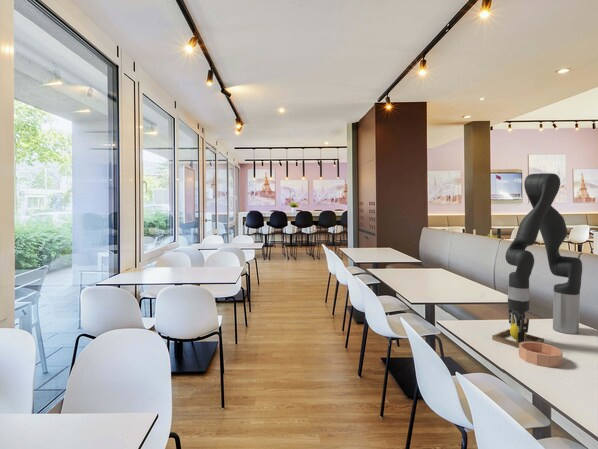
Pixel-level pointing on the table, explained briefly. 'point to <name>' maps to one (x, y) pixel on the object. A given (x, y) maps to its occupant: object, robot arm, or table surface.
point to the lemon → (514, 331)
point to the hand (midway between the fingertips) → (517, 338)
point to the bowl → (540, 354)
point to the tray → (498, 338)
